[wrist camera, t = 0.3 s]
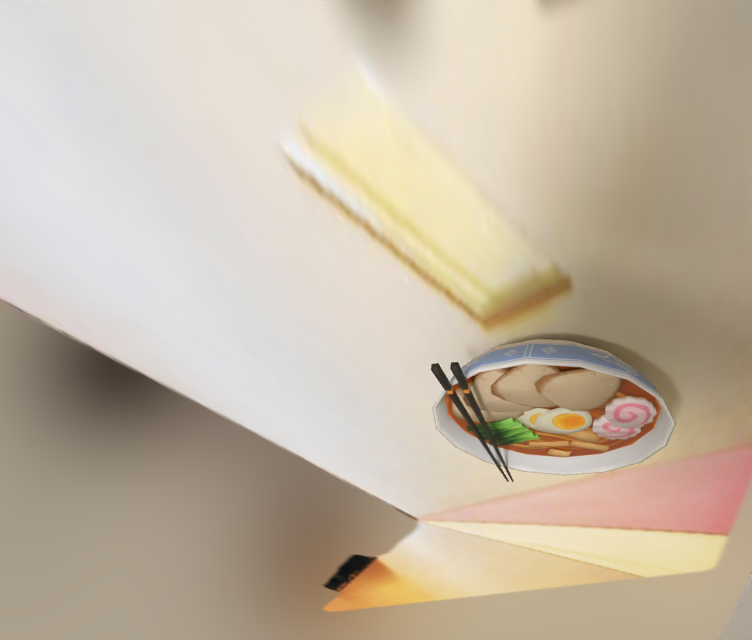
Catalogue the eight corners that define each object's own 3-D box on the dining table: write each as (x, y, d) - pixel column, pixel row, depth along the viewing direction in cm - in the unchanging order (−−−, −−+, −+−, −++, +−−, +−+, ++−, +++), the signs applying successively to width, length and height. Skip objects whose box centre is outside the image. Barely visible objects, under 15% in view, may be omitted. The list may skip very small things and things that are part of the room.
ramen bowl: (671, 418, 72) (679, 488, 67) (471, 423, 81) (466, 485, 76) (664, 274, 54) (673, 355, 49) (407, 300, 63) (395, 371, 58)
